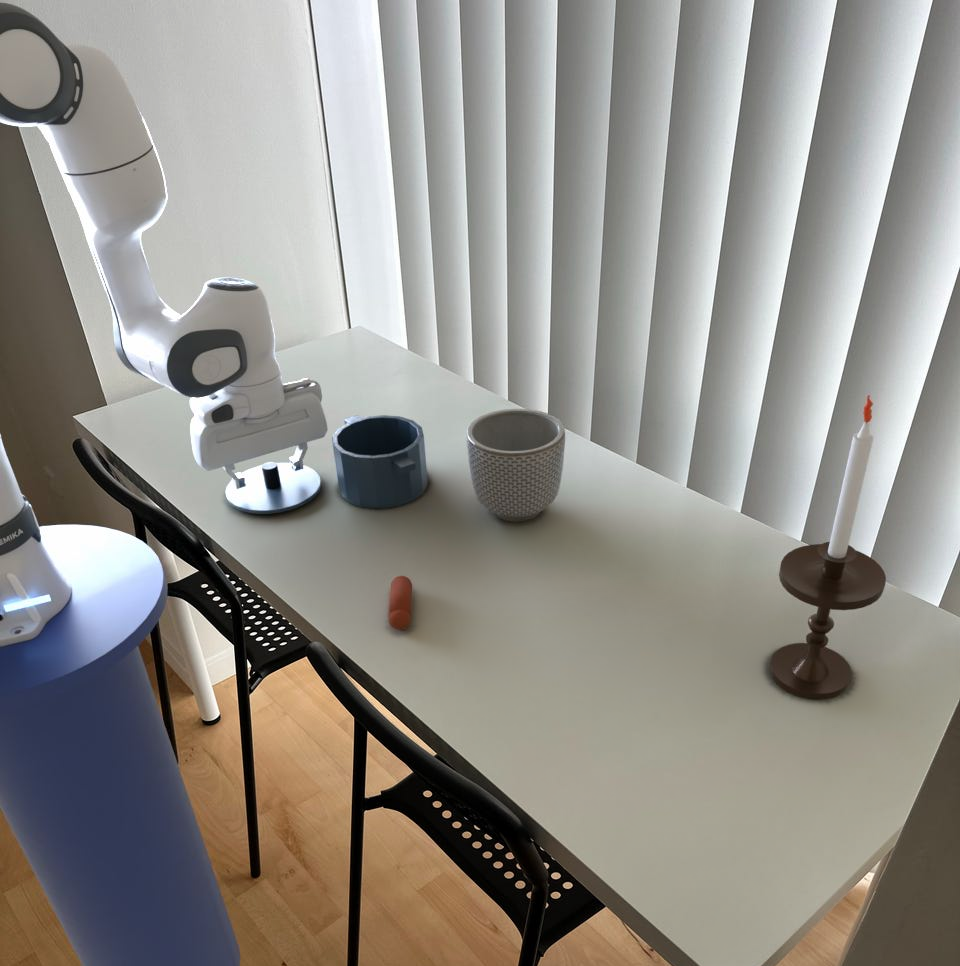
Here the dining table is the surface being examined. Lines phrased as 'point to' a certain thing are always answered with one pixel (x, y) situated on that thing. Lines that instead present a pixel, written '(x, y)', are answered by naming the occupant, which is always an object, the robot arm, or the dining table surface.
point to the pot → (380, 461)
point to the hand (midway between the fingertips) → (269, 477)
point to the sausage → (400, 602)
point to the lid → (274, 488)
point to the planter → (516, 461)
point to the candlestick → (829, 588)
